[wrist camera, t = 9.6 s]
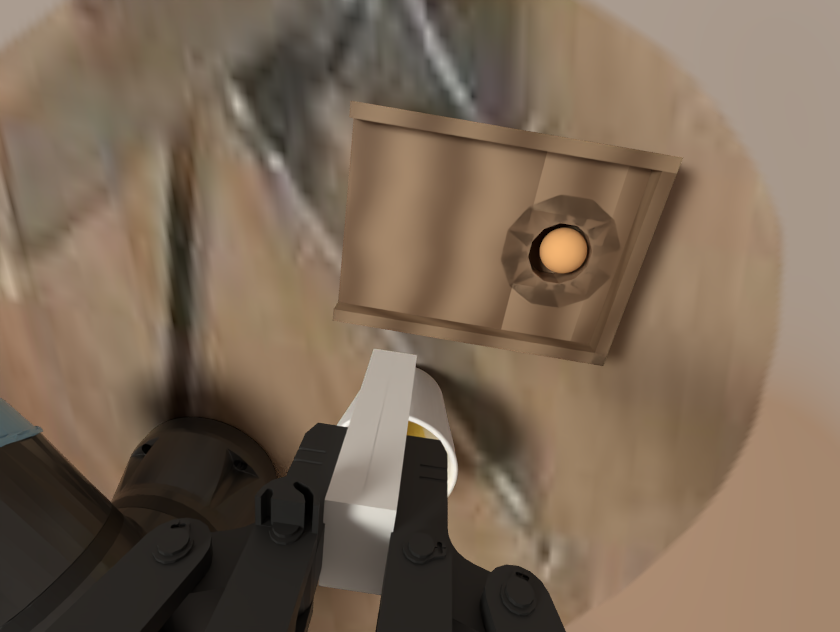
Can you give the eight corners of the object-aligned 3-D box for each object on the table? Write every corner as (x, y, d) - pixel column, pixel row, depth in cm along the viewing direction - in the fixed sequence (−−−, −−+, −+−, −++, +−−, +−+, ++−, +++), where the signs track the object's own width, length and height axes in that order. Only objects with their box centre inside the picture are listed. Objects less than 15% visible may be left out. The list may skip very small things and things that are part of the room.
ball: (527, 269, 34) (569, 289, 34) (543, 233, 32) (589, 253, 31) (540, 248, 37) (580, 265, 36) (556, 212, 34) (599, 231, 33)
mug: (374, 327, 40) (350, 393, 30) (475, 371, 41) (482, 448, 31) (324, 434, 45) (290, 519, 36) (414, 470, 46) (405, 562, 37)
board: (344, 301, 39) (333, 320, 35) (362, 102, 32) (350, 100, 29) (588, 342, 39) (603, 365, 35) (656, 153, 32) (683, 157, 29)
